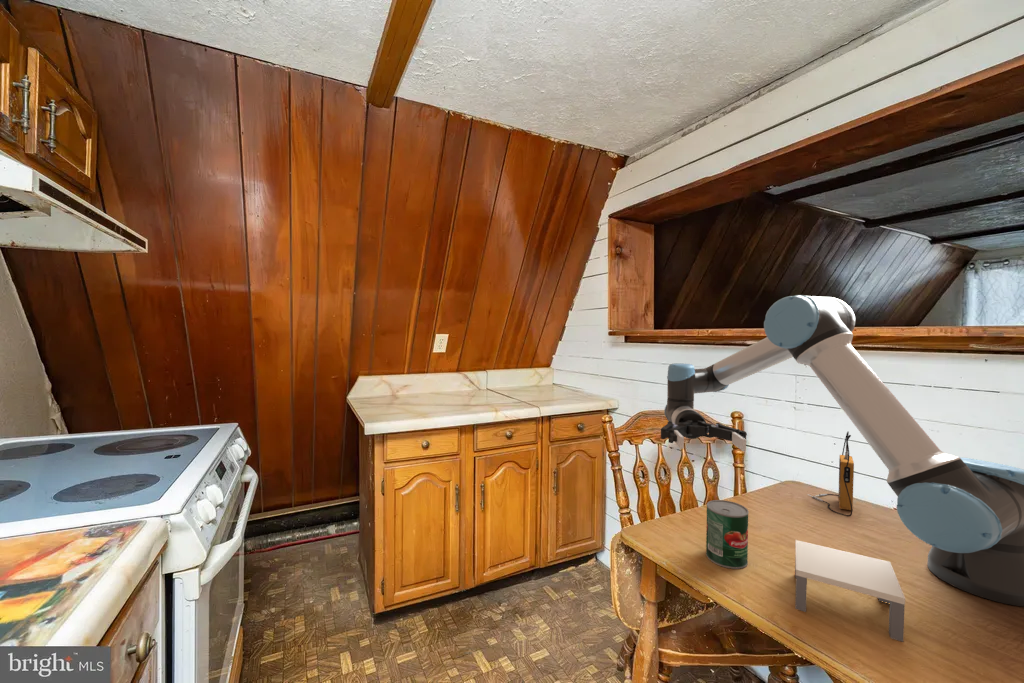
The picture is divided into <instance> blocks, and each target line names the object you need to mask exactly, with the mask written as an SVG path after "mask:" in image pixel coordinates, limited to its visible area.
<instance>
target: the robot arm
mask: <svg viewBox="0 0 1024 683" xmlns="http://www.w3.org/2000/svg"><path fill="white" fill-rule="evenodd" d="M855 326H856V315H855V313H854V311H853V308H851V306H850V305H848V304H847V303H846V302H845V301H843V300H842V299H839V298H836V297H834V296H833V297H832V296H816V295H812V296H811V295H804V294H795V295H789V296H785V297H782V298H780V299H778V300H777V301H775V302H774V303H773V304H772V305H771V306H770V307H769V309H768V310H767V311H766V314H765V318H764V321H763V329H764V330H763V331H764V333H765V335H766V337H765V338H762V339H761V340H759V341H757V342H755V343H753V344H750V345H749V346H747V347H745V348H743V349H741V350H739V351H737V352H735V353H733V354H731V355H729V356H727V357H724V358H723V359H720V360H719V361H716V362H715V363H713V364H710V365H709V366H707V367H705V368H695V365H693V364H692V363H691V364H690V363H670V364H669V365H668V368H667V376H666V379H667V392H666V393H667V399H666V405H665V407H664V416H665V418H666V420H667V424H666V425H664V426H663V427H661V428H660V439H661V440H666V439H667V438H668V443H670V444H673V443H675V444H676V445H677V447H678V448H680V449H683V450H684V449H685V438H686V439H689V440H695V439H698V438H700V437H705V438H708V439H709V438H710V439H712V438H717V439H720V440H725V441H729V442H731V444H733V445H734V446H735V447H737V449H739V450H740V451H742V452H746V451H747V431H744V430H741V429H739V428H735V427H734V428H733V427H730V426H728V425H725V424H723V423H719V422H717V423H715V424H713V423H709V422H707V421H706V419H705V418H704V416H702V415H701V414H700V413H699V412H698V411H696V410H695V408H694V405H695V404H694V402H695V394H704V393H717V392H718V393H719V392H720V391H724V390H726V389H728V388H729V385H732V384H735V383H736V382H738V381H740V380H743V379H745V378H748V377H750V376H752V375H755V374H757V373H759V372H762V371H763V370H766V369H768V368H770V367H774V366H775V365H778V364H780V363H782V362H784V361H787V360H789V359H792V358H793V359H794V360H795V361H796V364H797V363H798V364H799V365H800V364H801V365H805V366H808V367H810V368H811V370H812V371H813V373H815V375H816V376H817V377H818V379H819V380H820V382H821V383H822V384H823V385H824V387H825V388H826V390H827V391H828V392H829V394H831V396H832V397H833V399H835V401H836V403H837V404H838V405H839V407H840V408H841V409H842V411H843V412H844V413H845V414H846V416H847V417H848V418H849V420H850V422H852V423H853V425H854V426H855V427H856V428H857V430H858V431H859V433H860V434H861V435H862V437H863V438H864V439H865V442H867V444H869V446H870V447H871V449H872V450H873V451H874V452H875V454H876V456H878V457H879V458H880V460H881V462H882V464H884V466H885V467H886V468H887V470H888V475H887V478H886V483H887V484H888V486H889V487H890V488H891V490H892V491H893V493H895V495H896V496H897V498H896V499H897V500H896V503H897V504H896V511H897V514H898V517H899V518H900V520H901V523H902V524H903V525H904V526H905V528H907V530H909V532H911V533H912V534H913V535H914V536H915V537H917V538H918V539H919V540H921V541H922V542H924V543H925V544H928V545H929V546H931V548H930V549H929V552H928V554H927V568H928V570H929V571H930V572H931V573H932V574H933V575H934V576H936V577H938V578H939V579H940V580H942V581H944V582H946V583H947V584H949V585H951V586H953V587H955V588H957V589H958V590H959V589H960V590H962V591H964V592H966V593H969V594H972V595H975V596H976V597H977V596H978V597H980V598H983V599H987V600H990V601H993V602H996V603H997V602H998V603H1001V604H1007V605H1012V606H1018V607H1024V469H1022V468H1019V467H1016V466H1012V465H1007V464H1003V463H998V462H992V461H987V460H982V459H974V458H968V457H961V456H957V455H955V454H954V455H953V454H950V453H947V452H944V451H942V450H941V449H940V448H939V447H938V446H937V445H936V443H935V442H934V441H933V440H932V438H931V437H930V436H929V434H927V433H926V431H925V430H924V429H923V428H922V427H921V426H920V424H919V423H918V422H917V421H916V420H915V418H914V417H913V416H912V415H911V414H910V413H909V411H908V410H907V409H906V407H904V406H903V404H902V403H901V402H900V401H899V400H898V398H896V396H895V395H894V394H893V392H892V391H891V390H890V389H889V387H888V386H886V384H885V383H884V382H883V381H882V380H881V378H880V377H879V376H878V375H877V374H876V372H875V371H874V370H873V369H872V368H871V367H870V365H868V363H867V362H866V361H865V359H864V358H863V357H862V356H861V355H860V354H859V352H858V351H857V350H856V349H855V348H854V347H853V345H852V342H853V337H854V334H853V331H854V328H855Z"/></svg>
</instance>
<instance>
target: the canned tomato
mask: <svg viewBox="0 0 1024 683" xmlns="http://www.w3.org/2000/svg"><path fill="white" fill-rule="evenodd" d="M749 514H750V513H749V509H748V508H747V507H745V506H744V505H742V504H741V503H739V502H738V503H737V502H734V501H730V500H725V499H715V500H714V499H713V500H710V501H707V503H706V526H705V527H706V537H705V539H706V540H705V543H706V544H705V548H706V549H705V550H706V551H705V556H706V557H708V558H707V559H708V560H709V561H710V560H711V561H710V562H712V563H713V564H715V565H717V566H719V567H722V568H726V569H730V568H731V569H732V570H740V568H741V569H744V568H746V567H747V566H748V564H749V563H748V562H749V561H748V557H749V556H748V555H749V553H748V551H749V549H748V547H749V545H748V544H749V541H748V540H749Z"/></svg>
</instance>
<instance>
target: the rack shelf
mask: <svg viewBox="0 0 1024 683" xmlns="http://www.w3.org/2000/svg"><path fill="white" fill-rule="evenodd" d="M794 546H795V550H794V551H795V557H794V559H795V561H794V563H795V566H794V569H795V570H794V579H795V578H796V579H795V604H794V605H795V610H799V611H801V612H805V613H806V612H807V589H808V588H807V585H808V579H809V580H812V581H816V582H819V583H823V584H827V585H831V586H835V587H838V588H842V589H845V590H850V591H853V592H857V593H859V594H860V593H861V594H863V595H868V596H871V597H874V598H877V599H879V600H878V602H879V601H883V602H887V603H890V605H888V606H889V607H888V608H889V609H888V612H889V613H888V635H889V638H890V639H892V640H896V641H899V642H901V643H904V633H905V606H906V597H905V594H904V592H903V589H902V588H901V585H900V582H899V579H898V578H897V574H896V573H895V571H894V568H893V566H892V562H891V561H889V560H884V559H880V558H876V557H871V556H867V555H862V554H858V553H854V552H849V551H846V550H845V551H844V550H840V549H837V548H836V549H835V548H832V547H828V546H823V545H819V544H815V543H810V542H806V541H803V540H798V539H795V545H794Z"/></svg>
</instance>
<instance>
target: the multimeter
mask: <svg viewBox="0 0 1024 683" xmlns="http://www.w3.org/2000/svg"><path fill="white" fill-rule="evenodd" d="M851 437H852V435H851V434H850V431H847V432H846V434H845V438H844V444H843V448H842V453H841V454H839V458H838V460H839V461H838V462H839V466H838V494H833V493H819V494H817V495H810V494H807V493H806V494H807V496H810V497H811V498H813V499H815V500H817V501H819V502H824V503H826V504H828V505H827V508H828V509H829V510H830V511H832V512H833V513H836V514H839V515H842V516H846V517H851V516H852V515H853V508H854V506H853V505H854V480H855V479H854V478H855V477H854V475H855V474H854V471H855V470H854V469H855V464H854V463H855V462H854V460H853V456H851V455H850V448H849V447H850V446H849V440H850V438H851ZM829 495H830V496H837V497H838V498H837V499H838V505H839V509H841V510H845V511H850V514H844V513H841V512H839V511H838V512H837V511H835V510H833V509H832V508H830V505H831V504H830V503H829V502H827V501H824V500H823V499H822V498H819V497H823V496H829Z"/></svg>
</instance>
